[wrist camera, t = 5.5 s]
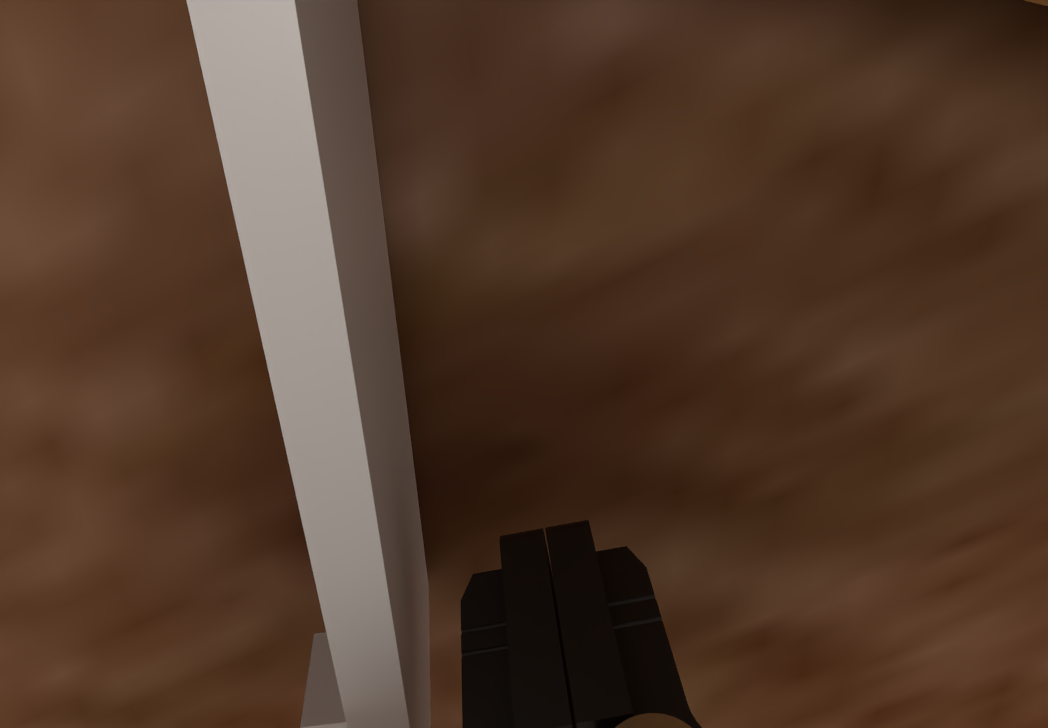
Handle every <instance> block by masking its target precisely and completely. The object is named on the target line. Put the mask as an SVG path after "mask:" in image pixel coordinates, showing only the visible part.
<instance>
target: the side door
mask: <svg viewBox="0 0 1048 728" xmlns="http://www.w3.org/2000/svg"><path fill="white" fill-rule="evenodd" d="M187 5H188V9H189V14H190V18H191V23H192V28H193V32H194V37H195V41H196V46H197V50H198V55H199V59H200V64H201V68H202V73H203V77H204V82H205V86H206V91H207V95H208V100H209V104H210V109H211V113H212V118H213V122H214V127H215V132H216V136H217V141H218V145H219V150H220V154H221V159H222V163H223V168H224V172H225V177H226V181H227V186H228V190H229V195H230V199H231V204H232V208H233V213H234V217H235V222H236V226H237V231H238V235H239V240H240V245H241V249H242V254H243V258H244V263H245V267H246V272H247V276H248V281H249V285H250V290H251V294H252V299H253V303H254V308H255V312H256V317H257V321H258V326H259V330H260V335H261V339H262V344H263V348H264V353H265V358H266V362H267V367H268V371H269V376H270V380H271V385H272V389H273V394H274V398H275V403H276V407H277V412H278V416H279V421H280V425H281V430H282V434H283V439H284V443H285V448H286V452H287V457H288V462H289V466H290V471H291V475H292V480H293V484H294V489H295V493H296V498H297V502H298V507H299V511H300V516H301V520H302V525H303V529H304V534H305V538H306V543H307V547H308V552H309V556H310V561H311V565H312V570H313V575H314V579H315V584H316V588H317V593H318V597H319V602H320V606H321V611H322V615H323V620H324V624H325V629H326V632H325V633H316V634H314V637H313V644H312V651H311V657H310V664H309V671H308V678H307V684H306V691H305V698H304V705H303V711H302V718H301V725H300V728H431V719H430V643H429V584H428V576H427V568H426V560H425V552H424V543H423V535H422V527H421V519H420V511H419V502H418V494H417V486H416V478H415V470H414V462H413V453H412V445H411V437H410V429H409V421H408V412H407V404H406V396H405V388H404V380H403V371H402V363H401V355H400V347H399V339H398V330H397V322H396V314H395V306H394V298H393V290H392V281H391V273H390V265H389V257H388V249H387V240H386V232H385V224H384V216H383V208H382V199H381V191H380V183H379V175H378V167H377V159H376V150H375V142H374V134H373V126H372V118H371V109H370V101H369V93H368V85H367V77H366V68H365V60H364V52H363V44H362V36H361V27H360V19H359V11H358V3H357V0H187Z"/></svg>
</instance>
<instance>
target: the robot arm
mask: <svg viewBox="0 0 1048 728" xmlns="http://www.w3.org/2000/svg"><path fill="white" fill-rule="evenodd" d="M545 529H546V536H547V542H548V549H549V555H550V561H551V566H550V561H549V556H548V551H547V546H546V541H545V536H544V531H543V528H542V529H537V530H531V531H526V532H520V533H515V534H509V535H503V536H500V552H501V564H502V569H499V570H493V571H488V572H482V573H476V574H473V575H472V577H471V580H470V582H469V584H468V586H467V588H466V590H465V593H464V595H463V597H462V599H461V631H462V635H461V652H462V714H463V728H702V727H701V726H700V725H699V724H698V723H697V721H696V720H695V718H694V717H693V715H692V713H691V711H690V709H689V706H688V704H687V701H686V697H685V694H684V691H683V687H682V684H681V681H680V677H679V674H678V671H677V668H676V664H675V661H674V658H673V654H672V651H671V648H670V644H669V641H668V638H667V634H666V631H665V628H664V625H663V622H662V619H661V615H660V611H659V608H658V605H657V601H656V600H655V595H654V592H653V588H652V585H651V582H650V578H649V575H648V572H647V568H646V567H645V566H644V565H643V563H642V562H641V561H640V560H639V559H638V558H637V557H636V556H635V555H634V554H633V553H632V552H631V551H630V550H629V549H628V548H627V546H625V547H619V548H614V549H608V550H603V551H597V552H596V551H595V546H594V542H593V538H592V533H591V529H590V525H589V521H588V520H585V521H580V522H574V523H569V524H563V525H558V526H552V527H546V528H545ZM551 568H552V571H551ZM552 574H553V576H552ZM553 580H554V581H553Z"/></svg>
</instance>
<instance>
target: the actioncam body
mask: <svg viewBox="0 0 1048 728" xmlns="http://www.w3.org/2000/svg"><path fill="white" fill-rule="evenodd" d="M1024 1H1028V2H1033V3H1037V4H1041V5H1045V6H1048V0H1024Z"/></svg>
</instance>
